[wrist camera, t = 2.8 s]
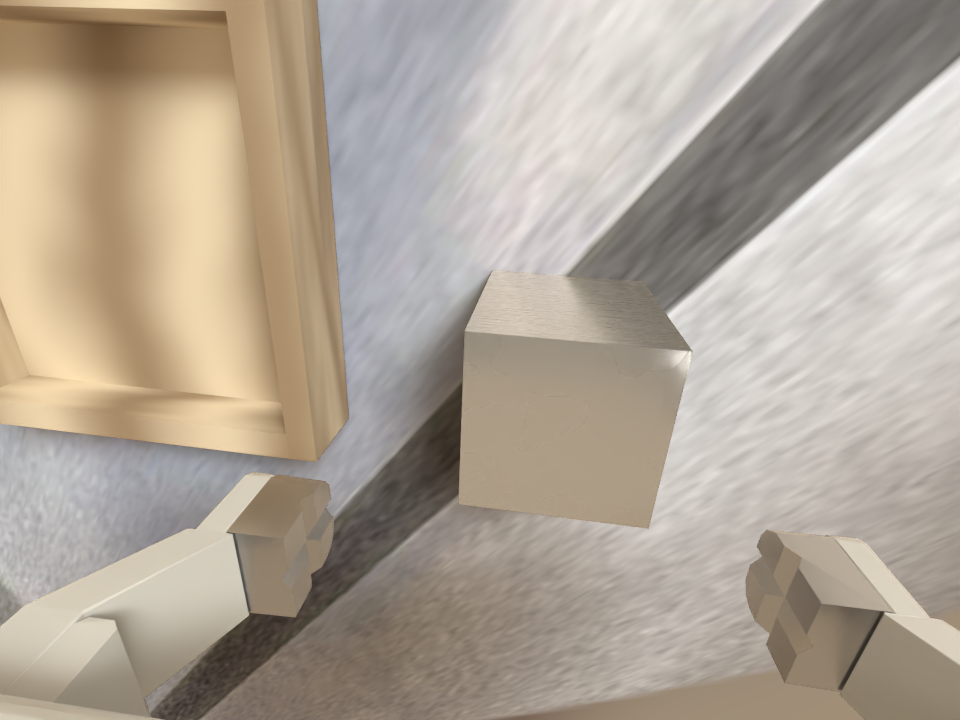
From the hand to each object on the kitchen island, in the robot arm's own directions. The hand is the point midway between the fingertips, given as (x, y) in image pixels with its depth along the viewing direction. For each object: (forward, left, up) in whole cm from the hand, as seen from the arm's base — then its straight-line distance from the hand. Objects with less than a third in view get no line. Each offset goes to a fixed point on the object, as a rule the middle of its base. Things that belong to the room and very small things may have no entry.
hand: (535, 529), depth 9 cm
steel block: (-1, 0, -9) cm, 9 cm away
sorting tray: (+14, -3, -9) cm, 17 cm away
